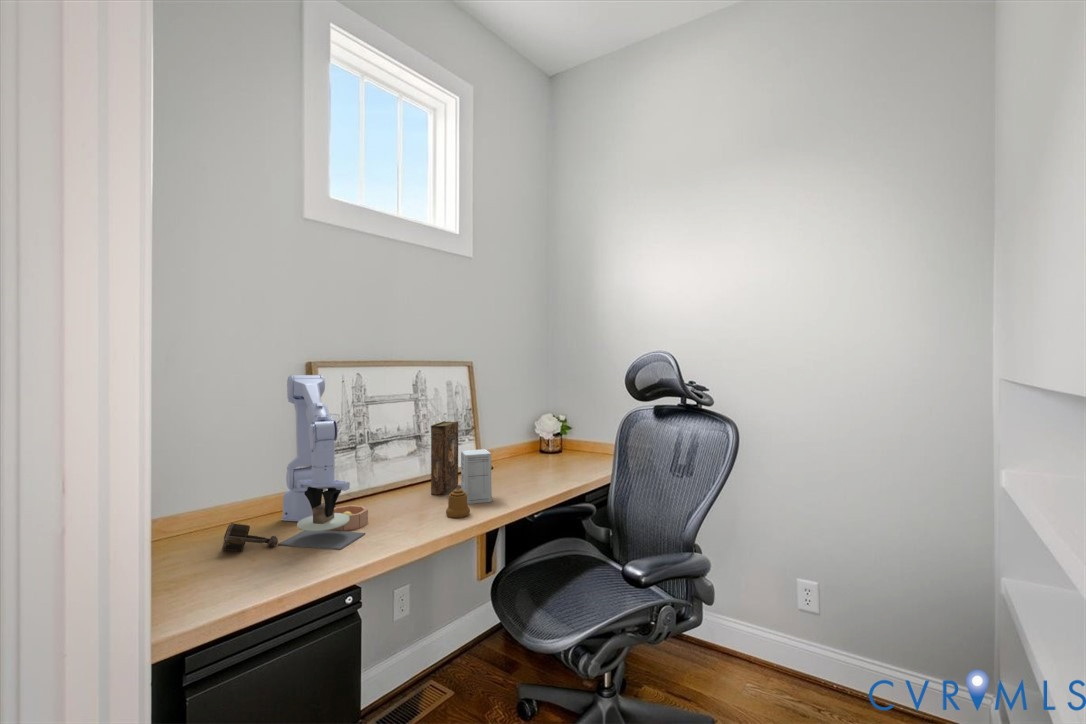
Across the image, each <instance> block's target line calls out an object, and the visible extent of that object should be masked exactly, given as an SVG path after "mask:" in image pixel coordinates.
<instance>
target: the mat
mask: <svg viewBox="0 0 1086 724" xmlns="http://www.w3.org/2000/svg"><path fill="white" fill-rule="evenodd" d="M365 535H366V532H357V531H346V530H345V531H344V530H343V531H338V530H324V531H303V530H301V531H300V532H298V533H296V534H294V535H292V536H290V537H287V539H284V540H282V541H281V542H278V543H277V545H278V546H283V547H297V548H299V547H300V548H308V549H309V548H310V549H320V550H321V549H323V550H336V551H340V550H341V551H342V550H343V549H345V548H346V547H347V546H349V545H350V544H353V543H354V542H355V541H358V540H359V539H360V538H362V537H363V536H365Z"/></svg>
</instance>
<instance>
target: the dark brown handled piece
mask: <svg viewBox="0 0 1086 724" xmlns="http://www.w3.org/2000/svg"><path fill="white" fill-rule="evenodd" d="M250 529H251V526H250V525H248V524H241V523H234V522H231V523H230V524H228V526H227V529H226V530H225V533H224V536H223V543H222V547H221V552H224V551H226V550H227V551H235V552H242V551H243V549H244V548H245V545H246V543H253V544H255V543H256V544H267V545H268V547H270V548H274V547H275V546H277V545H278V543H279V539H278V537H277V536H276V535H272V536H270V537H269V538H267V537H264V536H263V537H262V536H257V535H250V534H249V533H250Z"/></svg>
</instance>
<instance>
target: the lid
mask: <svg viewBox="0 0 1086 724" xmlns="http://www.w3.org/2000/svg"><path fill="white" fill-rule="evenodd" d="M349 520H350V519H349V516H348V515H346V514H342V513H334V510H333V515H331V516H329V517H326V515H325V502H323V503H321V505H319V506H317V507H315V508H313V516H309V517H306V518H304V519H302V520H300V521H299V522H298V521H297V523H296V528H297V529H298V530H300V531H324V530H330V529H334V528H338V527H341V526H343V525H345V524H347V523H348V522H349Z"/></svg>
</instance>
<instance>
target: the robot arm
mask: <svg viewBox="0 0 1086 724" xmlns="http://www.w3.org/2000/svg"><path fill="white" fill-rule="evenodd" d="M286 383H287V384H286V392H287V393H286V394H287V395H286V397H287V400H288V401H287V402H288V403H290V404H293V406H294V410H295V433H296V434H295V436H296V457H295V458H294V459H292V460H291V461H290V462H289V463H288V464H287V466H286V477H285V479H286V487H287V490H286V491H284V493H283V497H282V518H281V519H280V520H281V521H285V522H297V523H298V522H299V521H300V520H302V519H304V518H306V517H309V516H313V508H315V507H317V506H319V505H321V504H322V499H323V500H324V503H325V515H326V517H329V516H331V515H333V510H334V508H335V506H336V503H337V501H338V498H339V497H340V494H341V493H342V491H343V492H344V491H346V492H347V491H348V490H350V485H351V484H350V481H345V480H344V481H343V480H338V479H335V475H336V474H335V469H336V468H335V464H336V462H335V461H336V460H335V459H336V457H335V454H336V451H335V449H336V447H335V443H336V441H337V438H338V433H339V430H338V423H337V420H336V419H334V418H332V417H331V415H330V414H331V413H330V412H329V408H328V405H326V404H325V403H323V402H322V397H323V394H324V393H325V388H326V381H325V377H324V375H323V374H303V375H301V374H298V375H297V374H296V375H294V374H290V375H289V376H288V377H287V380H286ZM299 467H300V468H299ZM322 497H323V498H322Z"/></svg>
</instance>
